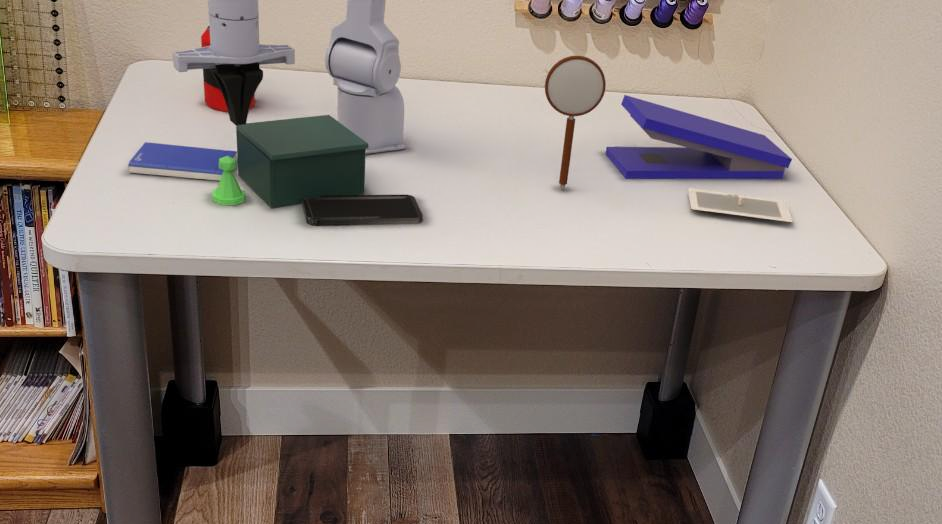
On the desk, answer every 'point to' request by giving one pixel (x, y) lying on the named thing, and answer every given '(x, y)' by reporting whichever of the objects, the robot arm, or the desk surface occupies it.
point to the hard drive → (179, 161)
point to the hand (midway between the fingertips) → (238, 122)
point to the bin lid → (301, 137)
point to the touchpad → (739, 205)
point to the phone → (361, 210)
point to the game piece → (228, 184)
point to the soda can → (213, 83)
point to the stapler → (695, 148)
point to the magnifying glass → (573, 97)
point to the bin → (299, 174)
